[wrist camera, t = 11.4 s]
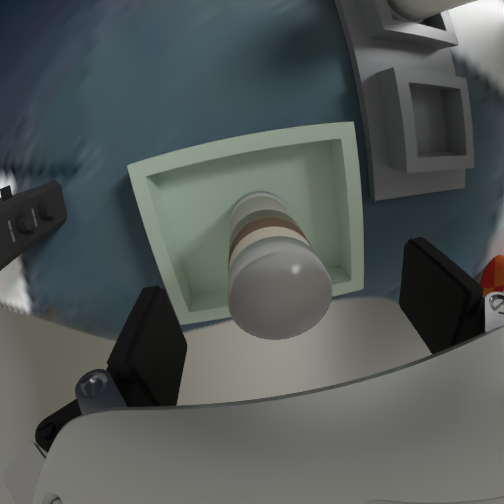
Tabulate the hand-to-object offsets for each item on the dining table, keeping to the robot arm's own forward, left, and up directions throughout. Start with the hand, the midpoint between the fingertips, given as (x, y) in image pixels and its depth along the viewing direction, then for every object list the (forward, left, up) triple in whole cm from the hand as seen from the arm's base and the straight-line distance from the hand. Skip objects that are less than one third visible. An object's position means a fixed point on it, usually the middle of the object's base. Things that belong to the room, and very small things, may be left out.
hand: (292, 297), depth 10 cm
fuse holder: (-13, -11, -11) cm, 20 cm away
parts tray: (+1, 0, -11) cm, 11 cm away
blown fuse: (0, 0, -10) cm, 10 cm away
